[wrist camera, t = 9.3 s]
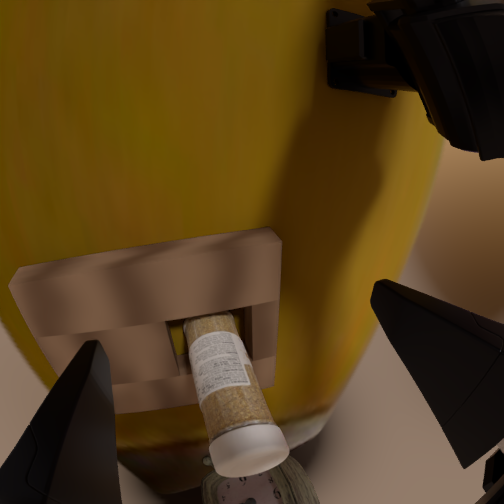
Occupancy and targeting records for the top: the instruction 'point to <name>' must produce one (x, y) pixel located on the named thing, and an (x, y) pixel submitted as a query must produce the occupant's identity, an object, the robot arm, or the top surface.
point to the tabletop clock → (260, 486)
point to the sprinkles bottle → (231, 399)
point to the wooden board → (154, 309)
